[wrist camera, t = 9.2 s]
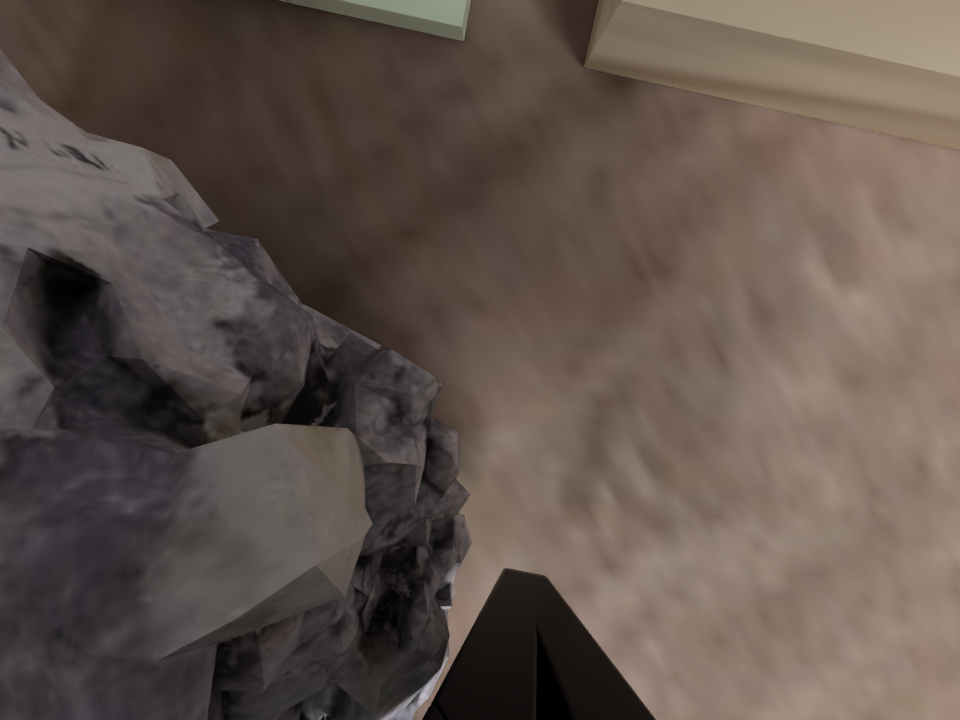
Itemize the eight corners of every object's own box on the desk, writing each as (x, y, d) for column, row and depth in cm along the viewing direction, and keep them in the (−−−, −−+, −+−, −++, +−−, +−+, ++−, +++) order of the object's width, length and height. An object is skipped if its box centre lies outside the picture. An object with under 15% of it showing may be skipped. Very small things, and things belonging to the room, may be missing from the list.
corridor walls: (779, 923, 13) (844, 1078, 11) (402, 858, 13) (382, 1003, 10) (1205, 98, 8) (1503, 44, 6) (607, -38, 8) (658, -155, 6)
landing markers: (325, 844, 13) (317, 873, 12) (-154, 762, 13) (-185, 787, 12) (482, -65, 8) (481, -89, 7) (-307, -245, 8) (-375, -284, 7)
